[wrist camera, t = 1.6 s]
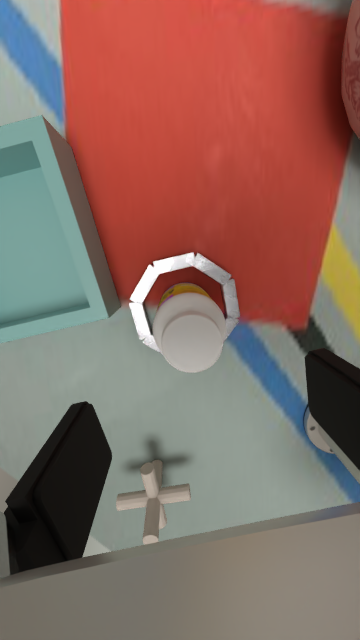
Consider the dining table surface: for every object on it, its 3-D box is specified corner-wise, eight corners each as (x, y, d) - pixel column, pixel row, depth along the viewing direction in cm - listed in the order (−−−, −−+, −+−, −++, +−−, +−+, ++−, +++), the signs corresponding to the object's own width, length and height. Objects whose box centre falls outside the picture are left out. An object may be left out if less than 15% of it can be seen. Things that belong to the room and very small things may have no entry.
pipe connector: (119, 443, 34) (97, 516, 25) (182, 434, 34) (186, 503, 24) (133, 491, 37) (118, 574, 27) (192, 483, 37) (198, 562, 27)
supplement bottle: (170, 273, 28) (166, 285, 15) (218, 293, 28) (252, 319, 16) (152, 321, 29) (135, 368, 17) (198, 338, 30) (215, 395, 18)
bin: (71, 147, 24) (41, 115, 18) (120, 306, 29) (108, 317, 23) (-85, 188, 24) (-157, 168, 19) (-11, 337, 29) (-52, 355, 24)
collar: (225, 244, 27) (228, 243, 25) (241, 342, 30) (244, 346, 29) (121, 269, 27) (119, 269, 26) (149, 362, 31) (148, 367, 29)
